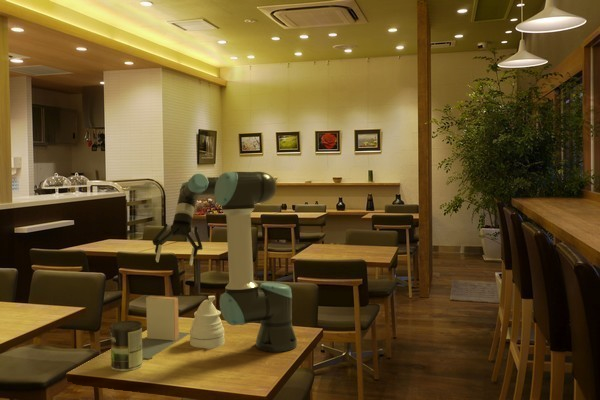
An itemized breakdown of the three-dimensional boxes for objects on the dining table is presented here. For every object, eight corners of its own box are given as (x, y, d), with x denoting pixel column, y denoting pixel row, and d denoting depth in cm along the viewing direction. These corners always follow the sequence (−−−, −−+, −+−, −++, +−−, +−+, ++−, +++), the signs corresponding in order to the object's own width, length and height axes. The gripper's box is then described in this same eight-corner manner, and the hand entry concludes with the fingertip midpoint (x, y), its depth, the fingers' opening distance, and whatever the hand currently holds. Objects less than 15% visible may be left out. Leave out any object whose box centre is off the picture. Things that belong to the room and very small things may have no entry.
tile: (151, 336, 218) (150, 295, 217) (178, 338, 215) (177, 297, 214) (146, 338, 215) (145, 297, 214) (174, 341, 212) (173, 299, 211)
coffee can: (112, 373, 181) (111, 330, 180) (109, 363, 190) (108, 322, 189) (145, 368, 185) (144, 326, 184) (141, 358, 194) (140, 319, 193)
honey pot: (228, 338, 216) (227, 292, 215) (220, 349, 203) (219, 300, 202) (195, 337, 217) (194, 292, 216) (185, 348, 205) (184, 300, 204)
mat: (149, 359, 193) (149, 358, 193) (114, 356, 197) (114, 354, 197) (190, 334, 222) (190, 333, 222) (159, 331, 226) (159, 330, 226)
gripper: (213, 223, 238) (205, 269, 227) (155, 217, 237) (144, 263, 227) (212, 214, 231) (204, 261, 220) (152, 208, 231) (141, 255, 220)
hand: (173, 262), depth 224 cm, fingers open, 13 cm apart
